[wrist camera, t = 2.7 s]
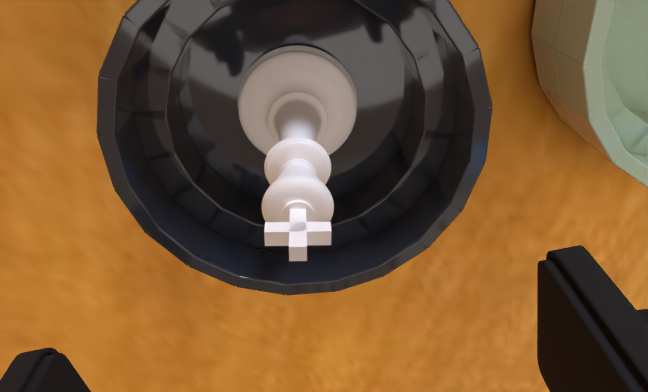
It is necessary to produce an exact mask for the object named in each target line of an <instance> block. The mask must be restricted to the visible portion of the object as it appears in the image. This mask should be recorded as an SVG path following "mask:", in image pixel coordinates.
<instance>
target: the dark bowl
mask: <svg viewBox="0 0 648 392" xmlns="http://www.w3.org/2000/svg"><path fill="white" fill-rule="evenodd" d="M294 45H300V46H308V47H313V48H316V49H319V50H322V51H324V52H326V53H328V54H329V55H331V56H332V57H334V58H335V59H336V60H338V61H339V62H340V63H341V64H342V65H343V66H344V68H345V69H346V70H347V72H348V73H349V75H350V77H351V78H352V81H353V83H354V86H355V89H356V94H357V113H356V119H355V123H354V126H353V129H352V131H351V133H350V135H349V136H348V138H347V139H346V141H345V142H344V143H343V144H342V145H341V146H340V147H339V148H338V149H337V150H336V151H335V152H333V153H332V154H330V155H329V158H330V161H331V174H330V177H329V179H328V181H327V183H326V185H325V186H326V187H327V188H328V190H329V191H330V193H331V195H332V198H333V202H334V212H333V216H332V218H331V220H330V222H331V245H308V246H307V261H289V246H265V239H264V228H265V222H266V221H265V220H264V217H263V214H262V200H263V197H264V194H265V192H266V191H267V189H268V188H269V186H270V184H269V182H268V180H267V178H266V175H265V171H264V163H265V159H266V156H267V155H266V154H264V153H263V152H261V151H260V150H259V149H257V148H256V147H255V146H254V145H253V144H252V142H251V141H250V140H249V139H248V137H247V136H246V134H245V132H244V130H243V128H242V125H241V122H240V119H239V113H238V92H239V88H240V84H241V82H242V79H243V77H244V75H245V74H246V72H247V71H248V69H249V68H250V67H251V65H252V64H253V63H254V62H255V61H256V60H258V59H259V58H260V57H262V56H263V55H265V54H266V53H268V52H270V51H272V50H275V49H277V48H281V47H285V46H294ZM491 115H492V101H491V96H490V92H489V87H488V83H487V78H486V74H485V69H484V65H483V60H482V56H481V51H480V48H479V47H478V44H477V43H476V41H475V39H474V38H473V36H472V35H471V33H470V32H469V30H468V29H467V27H466V26H465V24H464V22H463V21H462V19H461V18H460V16H459V15H458V13H457V12H456V10H455V9H454V7H453V5H452V4H451V2H450V1H449V0H137V1H136V2H135V3H134V4H133V5H132V6H131V7H130V8H129V9H128V10H127V11H126V12H125V15H124V16H123V17H122V19H121V21H120V24H119V26H118V29H117V31H116V33H115V36H114V38H113V41H112V43H111V45H110V48H109V50H108V53H107V55H106V57H105V60H104V62H103V64H102V67H101V69H100V72H99V76H98V104H97V134H98V135H97V137H98V141H99V144H100V147H101V150H102V153H103V156H104V159H105V162H106V165H107V168H108V171H109V175H110V178H111V181H112V184H113V187H114V188H115V191H116V193H117V194H118V196H119V197H120V198H121V200H122V201H123V203H124V204H125V205H126V207H127V208H128V209H129V211H130V212H131V214H132V215H133V216H134V218H135V219H136V221H137V222H138V223H139V225H140V226H141V227H142V229H143V230H144V232H145V233H147V234H148V235H149V236H150V237H151V238H153V239H154V240H155V241H156V242H158V243H159V244H160V245H161V246H163V247H164V248H165V249H167V250H168V251H169V252H170V253H172V254H173V255H174V256H176V257H177V258H178V259H179V260H181V261H182V262H183V263H184V264H186V265H187V266H188V265H189V267H191V268H193V269H195V270H198V271H200V272H202V273H205V274H207V275H209V276H212V277H214V278H216V279H219V280H221V281H223V282H226V283H228V284H230V285H233V286H237V287H240V288H246V289H252V290H258V291H264V292H270V293H277V294H283V295H286V294H287V295H296V294H310V293H323V292H336V291H340V290H343V289H346V288H349V287H352V286H355V285H358V284H361V283H365V282H368V281H371V280H374V279H377V278H380V277H383V276H385V275H387V274H388V273H390V272H391V271H393V270H395V269H396V268H398V267H399V266H401V265H402V264H404V263H406V262H407V261H409V260H410V259H412V258H413V257H415V256H417V255H418V254H420V253H421V252H423V251H424V250H426V249H427V248H429V247H430V246H431V244H432V243H433V242H434V241H435V240H436V239H437V238H438V237H439V236H440V235H441V233H442V232H443V231H444V230H445V229H446V228H447V227H448V226H449V225H450V223H451V222H452V221H453V220H454V219H455V218H456V217H457V216H458V215H459V214H460V212H461V211H462V209H463V208H464V206H465V204H466V202H467V200H468V198H469V196H470V194H471V191H472V189H473V187H474V185H475V183H476V181H477V179H478V177H479V175H480V173H481V170H482V168H483V166H484V164H485V161H486V155H487V147H488V139H489V131H490V123H491Z"/></svg>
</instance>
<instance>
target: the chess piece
mask: <svg viewBox="0 0 648 392" xmlns="http://www.w3.org/2000/svg"><path fill="white" fill-rule="evenodd" d="M238 113H239V119H240V122H241V125H242V128H243V130H244V132H245V134H246V136H247V137H248V139H249V140H250V141H251V142H252V144H253V145H254V146H255V147H256V148H257V149H259V150H260V151H261V152H263V153H264V154H266V155H267V156H266V159H265V163H264V171H265V175H266V178H267V180H268V182H269V184H270V186H269V188H268V189H267V191H266V192H265V194H264V197H263V200H262V214H263V217H264V220H265V221H266V222H265V228H264V239H265V246H289V261H307V246H308V245H331V222H330V220H331V218H332V216H333V212H334V202H333V198H332V195H331V193H330V191H329V190H328V188H327V187H326V186H325V185H326V183H327V181H328V179H329V177H330V174H331V161H330V158H329V155H330V154H332V153H333V152H335V151H336V150H337V149H338V148H339V147H340V146H341V145H342V144H343V143H344V142H345V141H346V139H347V138H348V136H349V135H350V133H351V131H352V129H353V126H354V123H355V119H356V113H357V94H356V89H355V86H354V83H353V81H352V78H351V77H350V75H349V73H348V72H347V70H346V69H345V68H344V66H343V65H342V64H341V63H340V62H339V61H338V60H336V59H335V58H334V57H332V56H331V55H329V54H328V53H326V52H324V51H322V50H319V49H316V48H313V47H308V46H300V45H294V46H285V47H281V48H277V49H275V50H272V51H270V52H268V53H266V54H265V55H263V56H262V57H260V58H259V59H258V60H256V61H255V62H254V63H253V64H252V65H251V67H250V68H249V69H248V71H247V72H246V74H245V75H244V77H243V79H242V82H241V84H240V88H239V92H238Z"/></svg>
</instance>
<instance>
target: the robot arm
mask: <svg viewBox="0 0 648 392" xmlns="http://www.w3.org/2000/svg"><path fill="white" fill-rule="evenodd" d="M537 358H538V365H539V368H540V372H541V374H542V377H543V379H544V381H545V383H546V385H547V387H548V389H549V391H550V392H648V309H641V310H636V309H635V308H634V307H633V305H632V304H631V303H630V302H629V301H628V299H627V298H626V297H625V296H624V295H623V293H622V292H621V291H620V290H619V288H618V287H617V286H616V285H615V284H614V282H613V281H612V280H611V279H610V278H609V276H608V275H607V274H606V273H605V271H604V270H603V269H602V268H601V267H600V265H599V264H598V263H597V262H596V261H595V259H594V258H593V257H592V256H591V254H590V253H589V252H588V251H587V250H586V249H585V248H584V247H583V246H580V245H579V246H573V247H568V248H563V249H558V250H553V251H549V252H548V253H547V256H546V260H543V261H539V263H538V331H537ZM0 392H91V391H90V390H89V388H88V387H87V385H86V384H85V383H84V381H83V380H82V378H81V377H80V376H79V374H78V373H77V371H76V370H75V368H74V367H73V366H72V364H71V363H70V361H69V360H68V358H67V357H66V356H65V355H64V354H62V353H58V352H57V351H56V350H55V349H53V348H44V349H39V350H34V351H29V352H24V353H21V354H19V355H17V356H16V358H15V359H14V360H13V361H12V363H11V365H10V366H9V368H8V369H7V371H6V372H5V374H4V376H3V377H2V379H1V380H0Z"/></svg>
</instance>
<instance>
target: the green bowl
mask: <svg viewBox="0 0 648 392" xmlns="http://www.w3.org/2000/svg"><path fill="white" fill-rule="evenodd" d="M531 35H532V44H533V50H534V56H535V62H536V68H537V74H538V80H539V85H540V86H541V88H542V89H543V91H544V93H545V94H546V96H547V98H548V99H549V101H550V103H551V104H552V106H553V108H554V109H555V111H556V113H557V114H558V116H559V118H560V119H561V120H562V121H563V122H564V123H566V124H567V125H568V126H569V127H570V128H572V129H573V130H574V131H575V132H576V133H577V134H579V135H580V136H581V137H582V138H583V139H585V140H586V141H587V142H588V143H589V144H590V145H592V146H593V147H594V148H595V149H596V150H597V151H599V152H600V153H601V154H602V155H603V156H605V157H606V158H607V159H608V160H609V161H610V162H612V163H613V164H614V165H616V166H617V167H618V168H620V169H621V170H623V171H624V172H626V173H627V174H628V175H630V176H631V177H633V178H634V179H636V180H637V181H638V182H640V183H641V184H643V185H644V186H646V187H647V188H648V0H536V5H535V12H534V18H533V25H532V31H531Z"/></svg>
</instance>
